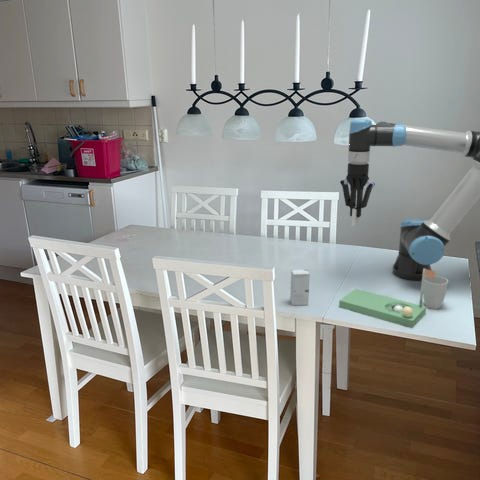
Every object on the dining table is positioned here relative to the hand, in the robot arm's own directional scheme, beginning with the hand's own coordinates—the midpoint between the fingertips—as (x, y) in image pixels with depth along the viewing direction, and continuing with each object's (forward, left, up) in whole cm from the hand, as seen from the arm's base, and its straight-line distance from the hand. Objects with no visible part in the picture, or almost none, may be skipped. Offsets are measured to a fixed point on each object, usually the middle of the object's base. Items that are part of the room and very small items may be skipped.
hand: (354, 224), depth 184 cm
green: (+15, +19, -24) cm, 34 cm away
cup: (+1, +32, -25) cm, 40 cm away
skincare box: (+27, -7, -25) cm, 37 cm away
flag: (+10, +32, -22) cm, 40 cm away
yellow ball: (+19, +29, -20) cm, 41 cm away
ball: (+15, +25, -23) cm, 37 cm away
